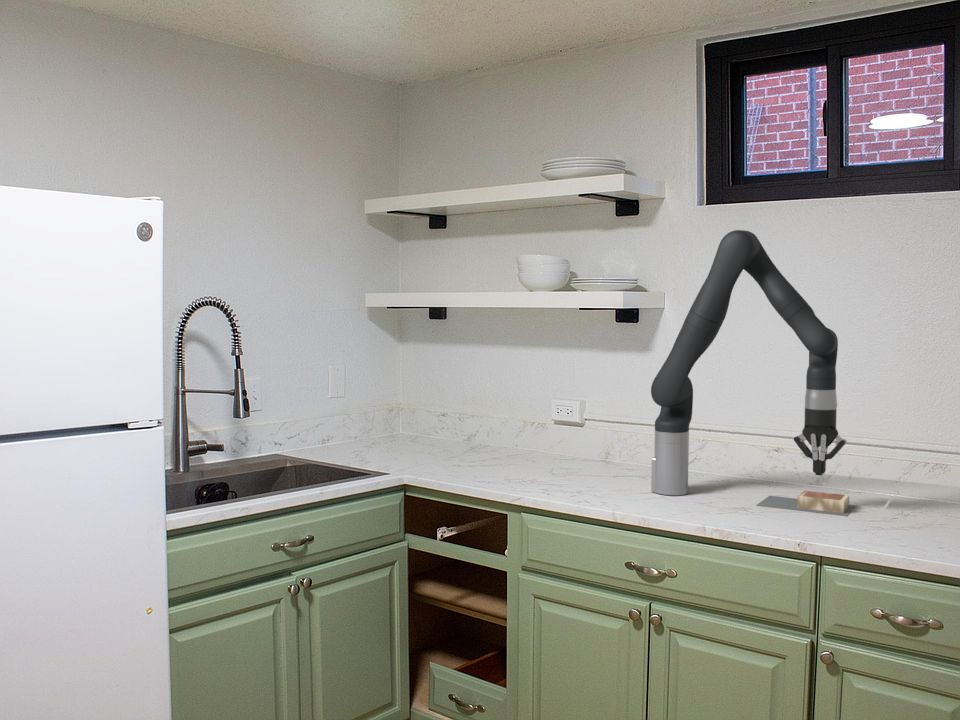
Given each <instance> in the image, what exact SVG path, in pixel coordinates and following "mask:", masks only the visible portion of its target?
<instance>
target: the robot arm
mask: <svg viewBox="0 0 960 720" xmlns="http://www.w3.org/2000/svg"><path fill="white" fill-rule="evenodd" d="M716 250H717V251H716V253H715V256H714V259H713V262H712V263H711V267H710V269H709V272H708V274H707V276H706V278H705V281H704V282H703V284H702V286H701V287H700V290H699V291H698V293H697V295H696V297H695V298H694V301H693V302H692V305H691V306H690V308H689V311H688V312H687V315H686V317H685V319H684V322H683V323H682V326H681V328H680V330H679V332H678V334H677V337H676V339H675V341H674V343H673V346H672V348H671V350H670V351H669V354H668V355H667V358H666V359H665V361H664V363H663V364H662V366H661V368H660V369H659V370H658V373H657V374H656V376H655V377H654V378H653V380H652V383H651V387H650V393H651V398H652V401H653V402H654V403H655V404H656V405H658V406H659V407H660V411H659V415H658V416H657V417H656V419H655V421H654V455H653V457H652V458H651V481H650V482H651V483H650V484H651V487H650V488H651V491H650V492H651V493H655V494H659V495H665V496H683V495H687V494H688V493H689V457H690V456H689V453H690V451H689V448H690V447H689V446H690V442H689V441H690V423H691V420H692V419H693V405H694V404H693V403H694V402H693V401H694V389H693V387H694V386H693V382H692V380H691V379H690V377H689V375H690V372H691V370H692V369H693V367H694V366H695V364H696V363H697V361H698V360H699V359H700V358H701V356H702V355H703V354H704V353H705V352H706V350H708V349H709V347H710V346H711V345H712V344H713V341H714V340H715V339H716V337H717V335H718V333H719V331H720V330H721V328H722V326H723V323H724V321H725V319H726V315H727V312H728V309H729V306H730V300H731V295H732V292H733V289H734V286H735V285H736V282H737V281H738V279H739V277H740V275H741V273H742V272H743V270H744V271H745V272H746V273H747V274H748V275H750V276H751V277H752V279H754V281H755V282H756V283H757V285H759V287H760V288H761V290H762V291H763V293H764V295H765V297H766V299H767V300H768V302H769V303H770V305H771V306H772V307H773V309H774V310H775V311H776V313H777V314H778V315H779V316H780V317H781V318H782V320H784V322H785V323H786V325H788V326H789V327H790V328H791V330H793V331H794V333H795V335H796V336H797V338H798V339H799V340H800V342H801V344H802V345H803V346H804V347H805V348H806V350H807V351H808V367H807V370H806V376H805V377H806V383H805V385H806V386H805V388H806V389H805V396H804V426H803V429H802V432H801V433H800V434H799V435H797V436H795V437H793V442H795V444H796V445H797V447H798V448H799V449H800V451H801V452H802V453H803V454H804V456H805V457H806V458H809V459H811V460H812V472H813V473H814V475H815V476H823V475H824V474H825V473H826V472H827V471H826V470H827V468H826V467H827V462H826V461H827V460H832V458H834V457H835V456H836V455H837V454H838V453H839V451H840V450H841V449H842V448H843V447H844V446H845V445H846V444H847V442H848V441H847V439H845V438H844V439H843V438H842V437H841V436H839V432H838V430H837V411H838V410H837V407H838V400H837V397H838V396H837V390H836V389H837V386H836V385H837V372H836V367H837V366H836V365H837V359H838V347H839V345H838V344H839V341H838V336H837V333H835V331H833V330H832V329H831V328H828V327H827V326H826V325H825V324H824V323H823V322H822V321H821V319H819V318H818V317H817V315H816V314H815V311H814V310H813V307H811V305H810V304H809V303H808V302H807V301H806V300H805V299H804V297H803V296H802V295H801V294H800V293H799V292H798V291H797V290H796V288H795V287H794V286H793V285H792V284H791V283H790V282H789V280H787V278H786V277H785V276H784V275H783V274H782V273H781V272H780V270H779V269H778V268H777V267H776V265H775V263H774V262H773V261H772V260H771V258H770V257H769V255H768V253H767V251H766V250H765V248H764V246H763V245H762V243H761V241H760V240H759V239H758V237H757V236H756V234H755V233H753V232H752V231H749V230H745V229H743V230H742V229H741V230H740V229H737V230H736V229H735V230H732V231H729V232H728V233H726V234H725V235H723V237H722V239H721V240H720V242H719V244H718V247H717V249H716ZM805 441H807V442H808V444H809V445H810V446H811V449H810V448H809V447H808V445H807V444H806V443H805ZM834 441H835V442H834ZM833 442H834V444H835V447H834V448H833V449H832V450H831V451H830V452H829V453H828V448H829V446H831V445H832V443H833Z"/></svg>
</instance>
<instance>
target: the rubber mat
mask: <svg viewBox="0 0 960 720" xmlns="http://www.w3.org/2000/svg"><path fill="white" fill-rule="evenodd" d="M797 501H798V498H796V497H795V498H794V497H785V496H775V495H768V496H767V497H765V498H764V499H763V500H761V501H760V502H758V503H757V504H756V505H755V507H763V508H771V509H781V510H787V511H788V510H789V511H790V510H791V511H796V512H797V511H798V512H805V513H807V512H808V513H814V514H823V515H832V516H841V517H847V518H848V517H849V515H850V514H851V513H852V512H853V511H854V509H855V508H857V506H858V505H857V504H851V503H849V508H848V509H847V510H846V511H845V512H844V513H838V512H829V511H820V510H812V509H803V508H797Z"/></svg>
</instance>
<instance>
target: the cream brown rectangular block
mask: <svg viewBox="0 0 960 720" xmlns="http://www.w3.org/2000/svg"><path fill="white" fill-rule="evenodd" d="M797 499H798V501H797V508H803V509H812V510H820V511H829V512H838V513H844V512H845V511H846V510H847V509H848V508H849V504H850V495H849V494H841V493H832V492H822V491H814V490H803V491H802V492H800V493H799V494H798V495H797Z"/></svg>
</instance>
